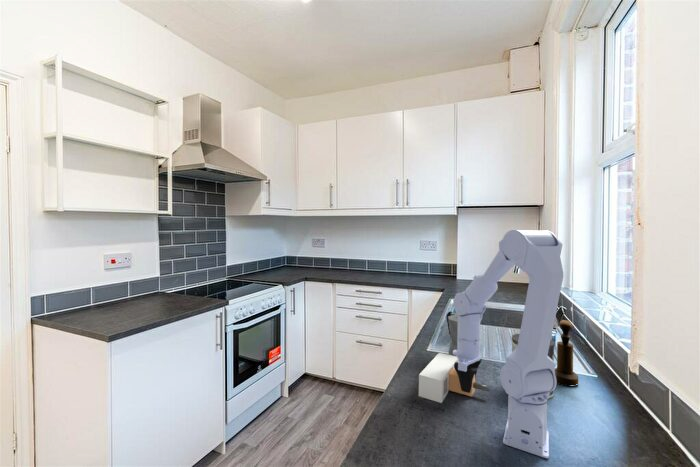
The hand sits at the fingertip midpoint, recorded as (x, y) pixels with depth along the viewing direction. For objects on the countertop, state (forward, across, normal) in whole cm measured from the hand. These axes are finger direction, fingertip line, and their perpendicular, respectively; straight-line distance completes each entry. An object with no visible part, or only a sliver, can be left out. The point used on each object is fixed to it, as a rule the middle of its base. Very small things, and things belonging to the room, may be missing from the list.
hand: (467, 387), depth 85 cm
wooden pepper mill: (+2, -23, +23) cm, 32 cm away
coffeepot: (+2, -19, -6) cm, 20 cm away
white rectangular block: (+1, 0, -8) cm, 8 cm away
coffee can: (+2, -12, +14) cm, 19 cm away
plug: (+1, 0, -1) cm, 1 cm away
